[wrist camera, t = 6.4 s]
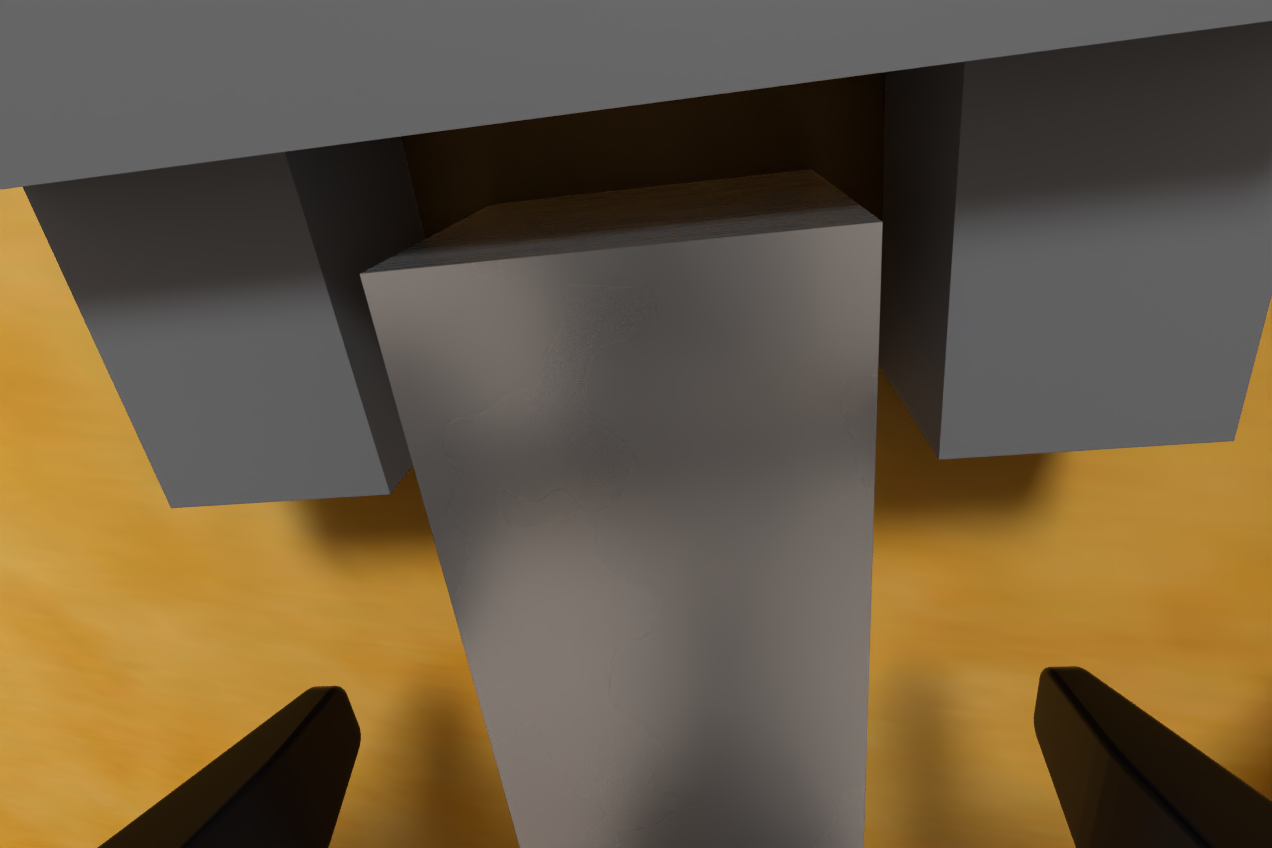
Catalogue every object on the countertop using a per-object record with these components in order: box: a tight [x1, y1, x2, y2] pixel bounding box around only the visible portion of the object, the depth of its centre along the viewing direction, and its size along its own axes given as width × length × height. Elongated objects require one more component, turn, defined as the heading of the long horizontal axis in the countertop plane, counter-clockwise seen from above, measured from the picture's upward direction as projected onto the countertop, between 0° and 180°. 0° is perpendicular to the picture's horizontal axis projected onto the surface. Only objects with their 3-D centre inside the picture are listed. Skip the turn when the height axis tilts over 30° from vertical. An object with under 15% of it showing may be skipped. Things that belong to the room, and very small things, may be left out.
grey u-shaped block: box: [0, 0, 1272, 508], centre depth 8 cm, size 6×12×4 cm, turn 97°
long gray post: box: [360, 169, 883, 848], centre depth 11 cm, size 12×4×4 cm, turn 7°
